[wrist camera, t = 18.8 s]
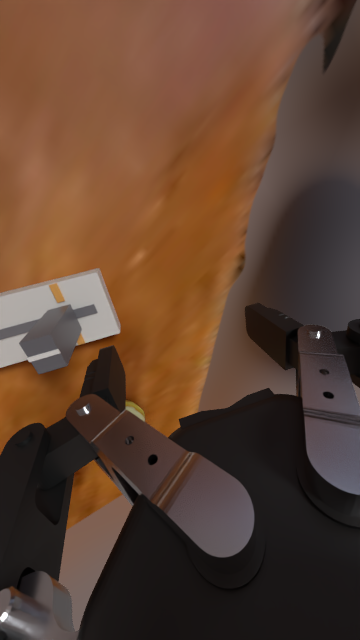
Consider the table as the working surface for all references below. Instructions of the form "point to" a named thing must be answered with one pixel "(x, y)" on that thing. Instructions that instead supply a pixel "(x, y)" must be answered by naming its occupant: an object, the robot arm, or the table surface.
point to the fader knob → (52, 339)
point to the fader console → (35, 300)
